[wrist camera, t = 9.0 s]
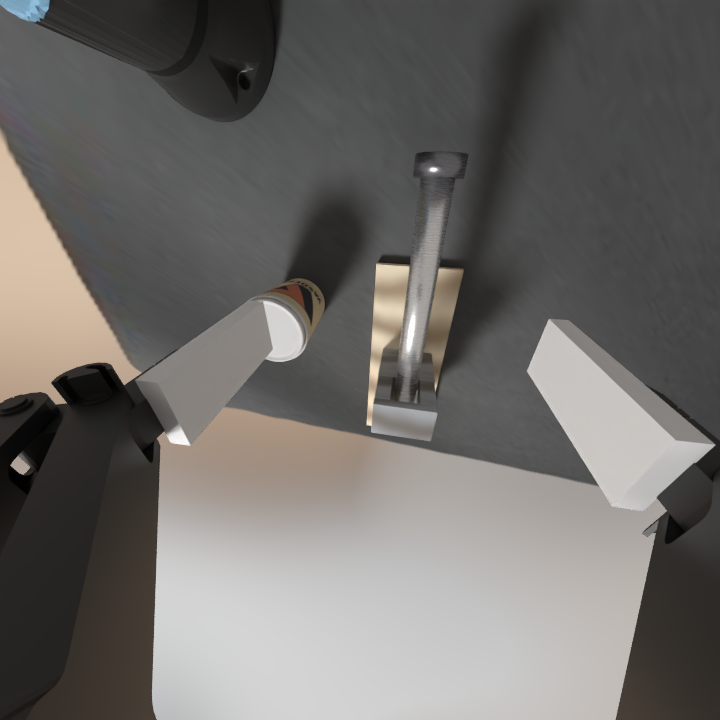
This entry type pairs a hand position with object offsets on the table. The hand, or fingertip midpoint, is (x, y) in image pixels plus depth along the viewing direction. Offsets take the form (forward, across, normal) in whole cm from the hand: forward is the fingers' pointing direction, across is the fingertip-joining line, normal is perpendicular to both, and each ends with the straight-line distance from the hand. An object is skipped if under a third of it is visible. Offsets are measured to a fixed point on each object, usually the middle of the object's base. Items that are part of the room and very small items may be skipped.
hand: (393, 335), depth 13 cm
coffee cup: (+29, -16, -10) cm, 34 cm away
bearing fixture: (+28, +2, -19) cm, 34 cm away
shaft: (+20, +2, -6) cm, 21 cm away
